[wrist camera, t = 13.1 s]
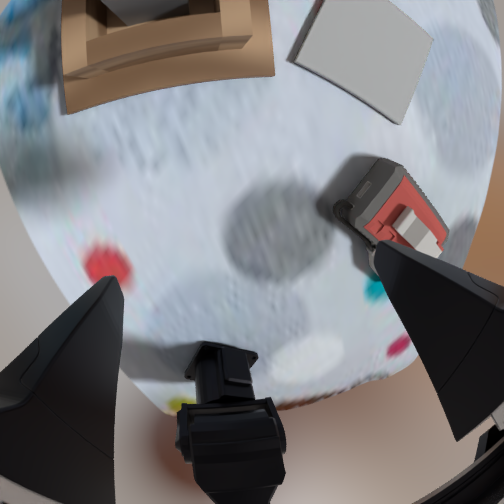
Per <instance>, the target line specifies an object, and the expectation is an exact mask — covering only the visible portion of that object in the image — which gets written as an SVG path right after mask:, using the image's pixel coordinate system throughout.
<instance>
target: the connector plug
mask: <svg viewBox="0 0 504 504" xmlns="http://www.w3.org/2000/svg"><path fill="white" fill-rule="evenodd" d="M101 1H102V2H103V3H104V4H105V5H106V6H107V7H108V8H109V9H110V10H111V11H112V12H113V13H115V14H116V15H117V16H118V17H119V18H120V19H121V20H122V21H123V22H124V23H125V24H126V25H127V26H132V25H136V24H140V23H144V22H148V21H153V20H158V19H163V18H168V17H174V16H180V15H187V14H190V12H189V0H101Z"/></svg>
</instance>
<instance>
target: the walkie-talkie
mask: <svg viewBox="0 0 504 504" xmlns="http://www.w3.org/2000/svg"><path fill="white" fill-rule="evenodd" d="M341 208H342V216H343V217H344V218H345V219H344V218H343V217H342V216H341V215H340V212H339V211H340V209H341ZM333 213H334V215H335V216H336V218H337V219H338V220H339V221H341V222H342V223H343V224H344V225H346V226H347V227H348V228H349V229H351V230H352V231H353V232H354V233H355V234H357V235H358V236H359V237H360V238H361V239H363V240H364V241H365V243H366V247H367V248H366V250H367V251H368V255H369V265H370V267H371V268H372V269H373V270H374V272H375V273H376V274H377V271H376V269H375V267H374V263H373V260H374V255H375V251H376V246H377V243H378V242H379V241H381V240H391V241H394V242H396V243H399V244H402V245H404V246H407V247H409V248H412V249H415V250H417V251H420V252H422V253H425V254H427V255H430V256H432V257H434V258H437V257H438V256H439V255H440V254H441V252H442V251H443V250H444V249H443V245H444V244H445V243H446V242H447V239H448V236H449V229H448V227H447V226H446V224H445V223H444V221H443V219H442V218H441V216H440V215H439V213H438V212H437V210H436V209H435V208H434V206H432V203H430V200H428V199H427V196H425V194H424V193H423V192H422V189H420V188H419V185H417V184H416V181H414V180H413V178H412V177H411V176H410V174H409V173H407V170H406V169H404V168H403V165H400V164H398V163H396V162H394V161H391V160H389V159H378V160H377V162H376V163H375V164H374V166H373V167H372V168H371V169H370V171H369V172H368V173H367V175H366V176H365V177H364V179H363V180H362V181H361V182H360V184H359V185H358V186H357V188H356V189H355V190H354V191H353V193H352V194H351V195H350V196H349V198H348V199H347V200H339V201H338V202H337V203H335V204H334V206H333ZM369 240H370V241H371V242H370V241H369ZM377 275H378V274H377Z"/></svg>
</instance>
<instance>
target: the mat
mask: <svg viewBox="0 0 504 504" xmlns="http://www.w3.org/2000/svg"><path fill="white" fill-rule="evenodd" d="M432 42H433V38H432V37H431V36H430V35H429V34H428V33H427V32H426V31H425V30H424V29H422V28H421V27H420V26H419V25H418V24H417V23H416V22H415V21H414V20H412V19H411V18H410V17H409V16H408V15H406V14H405V13H404V12H403V11H402V10H400V9H399V8H398V7H397V6H395V5H394V4H393V3H391V2H390V1H389V0H324V1H323V3H322V5H321V7H320V9H319V11H318V13H317V15H316V17H315V19H314V21H313V23H312V25H311V27H310V29H309V31H308V33H307V35H306V37H305V39H304V41H303V43H302V45H301V47H300V49H299V52H298V54H297V56H296V58H295V60H294V63H296V64H298V65H300V66H302V67H304V68H306V69H308V70H310V71H312V72H314V73H316V74H318V75H320V76H322V77H323V78H325V79H327V80H329V81H331V82H332V83H334V84H336V85H338V86H339V87H341V88H343V89H344V90H346V91H348V92H349V93H351V94H353V95H354V96H356V97H357V98H359V99H361V100H362V101H364V102H365V103H367V104H368V105H370V106H371V107H373V108H374V109H376V110H377V111H379V112H380V113H382V114H383V115H384V116H386V117H387V118H389V119H390V120H391V121H393V122H394V123H395V124H397V125H401V123H402V121H403V119H404V116H405V114H406V111H407V109H408V107H409V104H410V102H411V99H412V97H413V94H414V92H415V89H416V87H417V84H418V81H419V79H420V76H421V73H422V71H423V68H424V65H425V62H426V60H427V57H428V54H429V51H430V48H431V45H432Z"/></svg>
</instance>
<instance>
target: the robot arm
mask: <svg viewBox="0 0 504 504" xmlns="http://www.w3.org/2000/svg"><path fill="white" fill-rule="evenodd" d="M373 263H374V267H375V269H376V271H377V274H378V276H379V278H380V280H381V282H382V284H383V287H384V289H385V291H386V293H387V295H388V297H389V299H390V301H391V303H392V305H393V307H394V309H395V310H396V312H397V314H398V316H399V318H400V319H401V321H402V323H403V325H404V327H405V329H406V331H407V333H408V334H409V336H410V338H411V340H412V342H413V344H414V346H415V348H416V350H417V352H418V354H419V356H420V358H421V360H422V362H423V364H424V366H425V369H426V371H427V373H428V375H429V377H430V379H431V381H432V384H433V386H434V388H435V390H436V392H437V395H438V397H439V400H440V402H441V405H442V407H443V409H444V412H445V414H446V417H447V419H448V422H449V424H450V427H451V430H452V432H453V435H454V438H455V440H456V441H457V442H458V441H459V440H461V439H462V438H463V437H465V436H466V435H468V434H469V433H470V432H472V431H473V430H474V429H476V428H477V427H478V426H479V425H481V424H482V423H483V422H484V421H486V420H487V419H488V418H489V417H492V419H493V421H494V423H495V424H494V425H493V426H492V427H491V428H490V429H489V430H488V431H486V432H485V433H484V434H483V435H481V436H480V438H479V443H478V448H477V452H476V456H475V460H474V463H473V464H471V465H470V466H469V467H468V468H466V469H465V470H463V471H462V472H461V473H459V474H458V475H457V476H455V477H454V478H453V479H451V480H450V481H448V482H447V483H445V484H444V485H442V486H441V487H439V488H437V489H436V490H434V491H433V492H431V493H429V494H428V495H426V496H425V497H423V498H421V499H419V500H418V501H416V502H414V503H412V504H504V287H503V286H501V285H498V284H496V283H493V282H491V281H488V280H486V279H484V278H481V277H479V276H477V275H474V274H472V273H470V272H466V271H465V270H463V269H461V268H458V267H456V266H454V265H451V264H449V263H447V262H444V261H442V260H439V259H437V258H434V257H432V256H430V255H427V254H425V253H422V252H420V251H417V250H415V249H412V248H409V247H407V246H404V245H402V244H399V243H396V242H394V241H391V240H381V241H379V242H378V243H377V246H376V251H375V255H374V260H373ZM123 313H124V296H123V293H122V291H121V288H120V285H119V283H118V280H117V278H116V277H115V276H114V275H112V276H104V277H102V278H101V279H100V280H99V281H98V282H97V283H95V284H94V285H93V286H92V287H91V288H90V289H89V290H87V291H86V292H85V293H84V294H83V295H82V296H81V297H79V298H78V299H77V300H76V301H75V302H74V303H73V304H72V305H71V306H69V307H68V308H67V309H66V310H65V311H64V312H63V313H62V314H61V315H60V316H59V317H58V318H57V319H56V320H54V321H53V322H52V323H51V324H50V325H49V326H48V327H47V328H46V329H45V330H44V331H43V332H42V333H41V334H40V335H39V336H38V338H36V339H35V340H34V341H33V342H32V343H31V344H30V345H29V346H28V347H27V348H26V349H25V350H24V351H23V352H22V353H21V354H20V355H19V356H17V357H16V358H15V359H14V360H13V361H12V362H11V363H10V364H9V365H8V366H7V367H5V369H3V370H2V371H1V372H0V504H115V486H114V460H113V458H114V424H115V406H116V392H117V381H118V372H119V363H120V355H121V348H122V337H123ZM257 359H258V354H257V353H255V352H250V351H245V350H240V349H235V348H231V347H226V346H221V345H217V344H213V343H208V342H204V343H202V344H201V345H200V347H199V349H198V351H197V353H196V354H195V356H194V358H193V360H192V361H191V363H190V365H189V367H188V368H187V370H186V372H185V378H186V379H190V380H195V386H196V401H197V404H187V403H182V408H181V410H180V411H178V412H177V432H176V440H175V446H176V448H177V449H178V450H179V451H180V452H181V453H182V456H184V460H185V463H192V466H193V473H194V479H195V481H196V483H197V484H198V485H199V486H200V488H201V489H202V490H203V491H204V492H205V493H206V494H207V495H208V496H209V497H210V499H211V500H212V501H213V502H214V503H215V504H270V501H271V498H272V497H273V495H274V493H275V490H276V489H277V486H278V485H281V484H282V482H283V480H284V477H285V474H286V472H285V468H284V464H283V457H282V454H285V452H286V437H285V431H284V428H283V425H282V422H281V420H280V418H279V415H278V413H277V411H276V408H275V406H274V403H273V401H272V399H271V397H267V398H265V399H258V400H255V395H254V391H253V386H252V377H251V373H250V368H251V367H252V366H253V364H254V363H255V362H256V361H257Z"/></svg>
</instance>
